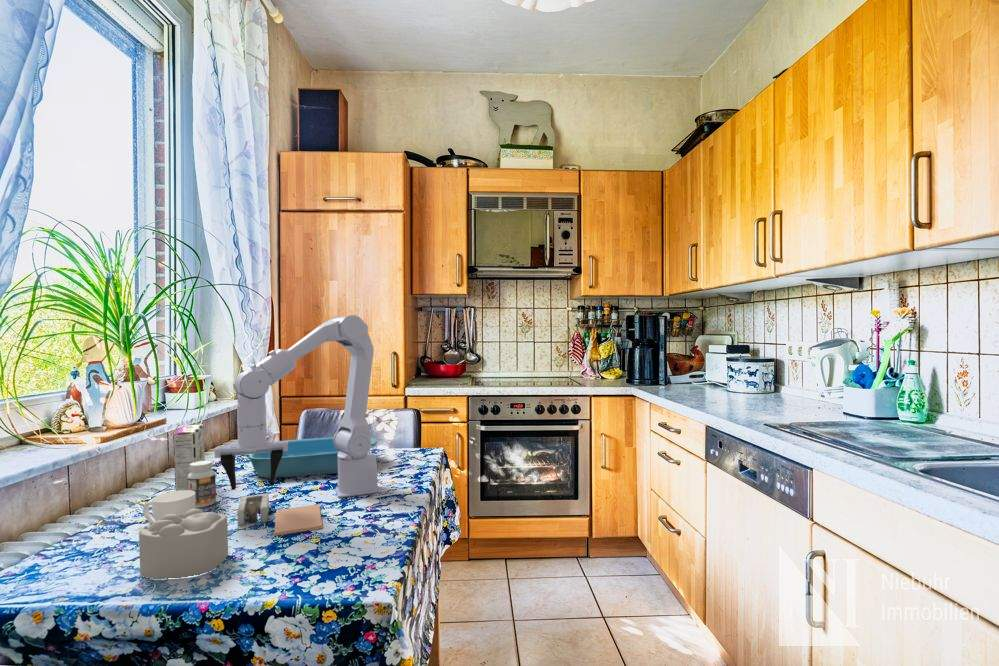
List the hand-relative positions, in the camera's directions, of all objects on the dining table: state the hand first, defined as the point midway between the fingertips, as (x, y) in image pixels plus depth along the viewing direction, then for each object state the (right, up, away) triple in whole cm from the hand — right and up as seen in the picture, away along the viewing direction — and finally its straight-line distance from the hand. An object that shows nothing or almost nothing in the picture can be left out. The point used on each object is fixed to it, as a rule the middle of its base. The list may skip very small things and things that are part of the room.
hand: (253, 486), depth 113 cm
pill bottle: (-16, -7, +8) cm, 19 cm away
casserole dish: (-1, -7, +39) cm, 39 cm away
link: (+1, -6, -1) cm, 6 cm away
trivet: (+11, -6, -4) cm, 14 cm away
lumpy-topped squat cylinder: (-1, -7, -24) cm, 25 cm away
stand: (+2, -6, -4) cm, 8 cm away
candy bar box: (-24, -7, +18) cm, 31 cm away
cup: (-14, -7, -7) cm, 17 cm away
